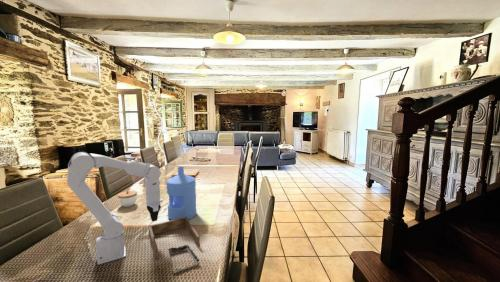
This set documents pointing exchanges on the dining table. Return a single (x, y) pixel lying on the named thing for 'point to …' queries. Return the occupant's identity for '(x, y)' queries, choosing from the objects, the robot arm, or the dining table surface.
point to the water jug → (181, 196)
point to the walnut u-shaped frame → (170, 226)
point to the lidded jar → (127, 198)
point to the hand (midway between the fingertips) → (154, 220)
